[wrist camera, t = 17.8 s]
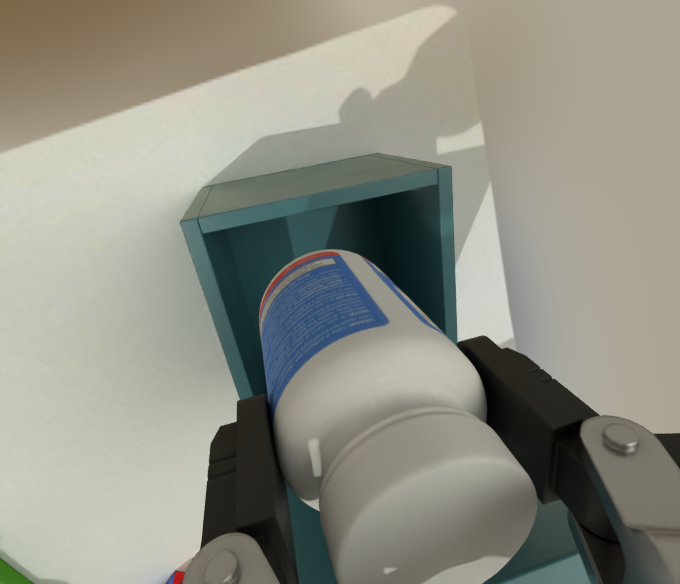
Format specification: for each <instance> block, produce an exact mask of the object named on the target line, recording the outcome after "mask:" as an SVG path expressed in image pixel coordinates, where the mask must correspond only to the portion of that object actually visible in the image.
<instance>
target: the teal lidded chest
mask: <svg viewBox="0 0 680 584" xmlns="http://www.w3.org/2000/svg"><path fill="white" fill-rule="evenodd" d="M180 225H181V228H182V230H183V233H184V236H185V239H186V242H187V245H188V248H189V251H190V254H191V257H192V260H193V263H194V266H195V269H196V272H197V275H198V278H199V281H200V283H201V286H202V289H203V292H204V295H205V298H206V301H207V304H208V307H209V310H210V313H211V316H212V319H213V322H214V325H215V328H216V331H217V334H218V336H219V339H220V342H221V345H222V348H223V351H224V354H225V357H226V360H227V363H228V366H229V369H230V372H231V375H232V378H233V381H234V384H235V387H236V389H237V392H238V395H239V398H240V400H242V399H246V398H250V397H253V396H257V395H261V394H264V393H265V394H266V396H267V399H268V392H267V384H266V376H265V368H264V360H263V352H262V343H261V336H260V329H259V313H260V306H261V301H262V298H263V296H264V293H265V291H266V289H267V287H268V285H269V284H270V282H271V281H272V279H273V278H274V277H275V276H276V274H277V273H278V272H279V271H280V270H281V269H282V268H284V267H285V266H286V265H287V264H289V263H290V262H292V261H293V260H295V259H297V258H299V257H301V256H303V255H305V254H308V253H311V252H314V251H319V250H327V249H336V250H344V251H349V252H352V253H355V254H358V255H360V256H362V257H364V258H366V259H367V260H369V261H370V262H372V263H373V264H374V265H376V266H377V267H378V268H379V269H380V270H381V271H382V272H383V273H384V274H385V275H387V276H388V277H389V279H390V280H391V281H392V282H393V283H394V284H395V285H396V286H397V287H398V288H399V289H400V290H401V291H402V292H403V293H404V294H405V295H406V296H408V297H409V298H410V300H411V301H412V302H413V303H414V304H415V305H416V306H417V307H418V308H419V309H420V310H421V311H422V312H423V313H424V314H425V315H426V316H427V317H428V318H429V319H430V320H431V321H432V322H433V323H434V324H435V325H436V326H437V327H438V328H439V329H440V330H441V331H442V332H443V333H444V334H445V335H446V336H447V337H448V338H449V339H450V340H451V341H452V342H453V343H454V344H455V345H457V343H458V342H457V312H456V283H455V253H454V224H453V194H452V167H451V166H448V165H443V164H437V163H431V162H426V161H420V160H414V159H409V158H403V157H397V156H392V155H386V154H380V153H375V154H370V155H365V156H360V157H354V158H349V159H344V160H339V161H334V162H329V163H323V164H318V165H313V166H308V167H303V168H298V169H292V170H287V171H282V172H277V173H272V174H267V175H261V176H256V177H251V178H246V179H241V180H236V181H230V182H225V183H220V184H215V185H210V186H205V187H202V189H201V190H200V192H199V193H198V195H197V196H196V198H195V199H194V201H193V203H192V204H191V206H190V207H189V209H188V210H187V212H186V213H185V215H184V216H183V218H182V219H181V221H180ZM268 402H269V400H268Z"/></svg>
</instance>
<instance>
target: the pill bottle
mask: <svg viewBox="0 0 680 584" xmlns="http://www.w3.org/2000/svg"><path fill="white" fill-rule="evenodd" d="M259 329H260V336H261V343H262V352H263V360H264V368H265V376H266V384H267V392H268V400H269V406H270V415H271V423H272V431H273V438H274V444H275V451H276V456H277V460H278V464H279V467H280V470H281V472H282V475H283V477H284V479H285V480H286V482H287V484H288V486H289V487H290V488H291V490H292V491H293V492H294V493H295V494H296V495H297V496H298V497H299V498H300V499H301V500H302V501H303V502H305V503H306V504H307V505H309V506H311V507H312V508H314V509H316V510H318V511H320V522H321V527H322V530H323V533H324V536H325V538H326V542H327V546H328V551H329V555H330V558H331V562H332V566H333V570H334V574H335V578H336V581H337V584H482V583H483V582H485V581H486V580H488V579H489V578H491V577H492V576H493V575H495V574H496V573H497V572H498V571H499V570H500V569H501V568H503V567H504V566H505V565H506V564H507V562H508V561H509V560H510V559H511V558H512V557H513V556H514V555H515V554H516V552H517V551H518V550H519V548H520V547H521V546H522V545H523V543H524V542H525V540H526V539H527V537H528V535H529V533H530V530H531V528H532V526H533V524H534V521H535V517H536V514H537V494H536V489H535V487H534V485H533V483H532V481H531V479H530V477H529V475H528V474H527V473H526V471H525V470H524V469H523V468H522V466H521V465H520V464H519V462H518V461H517V460H516V459H515V457H514V456H513V455H512V453H511V452H510V451H509V449H508V448H507V447H506V446H505V444H504V443H503V442H502V440H501V439H500V437H499V436H498V435H497V434H496V432H495V431H494V430H493V429H492V428H491V427H489V426H488V425H487V424H486V420H487V399H486V393H485V389H484V386H483V383H482V380H481V378H480V376H479V374H478V372H477V371H476V369H475V367H474V366H473V365H472V363H471V362H470V361H469V360H468V358H467V357H466V356H465V355H464V354H463V353H462V352H461V351H460V350H459V349H458V347H457V346H456V345H455V344H454V343H453V342H452V341H451V340H450V339H449V338H448V337H447V336H446V335H445V334H444V333H443V332H442V331H441V330H440V329H439V328H438V327H437V326H436V325H435V324H434V323H433V322H432V321H431V320H430V319H429V318H428V317H427V316H426V315H425V314H424V313H423V312H422V311H421V310H420V309H419V308H418V307H417V306H416V305H415V304H414V303H413V302H412V301H411V300H410V298H409V297H408V296H406V295H405V294H404V293H403V292H402V291H401V290H400V289H399V288H398V287H397V286H396V285H395V284H394V283H393V282H392V281H391V280H390V279H389V277H388V276H387V275H385V274H384V273H383V272H382V271H381V270H380V269H379V268H378V267H377V266H376V265H374V264H373V263H372V262H370V261H369V260H367V259H366V258H364V257H362V256H360V255H358V254H355V253H352V252H349V251H344V250H336V249H327V250H319V251H314V252H311V253H308V254H305V255H303V256H301V257H299V258H297V259H295V260H293V261H292V262H290V263H289V264H287V265H286V266H285V267H284V268H282V269H281V270H280V271H279V272H278V273H277V274H276V276H275V277H274V278H273V279H272V281H271V282H270V284H269V285H268V287H267V289H266V291H265V293H264V296H263V298H262V301H261V306H260V313H259Z"/></svg>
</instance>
